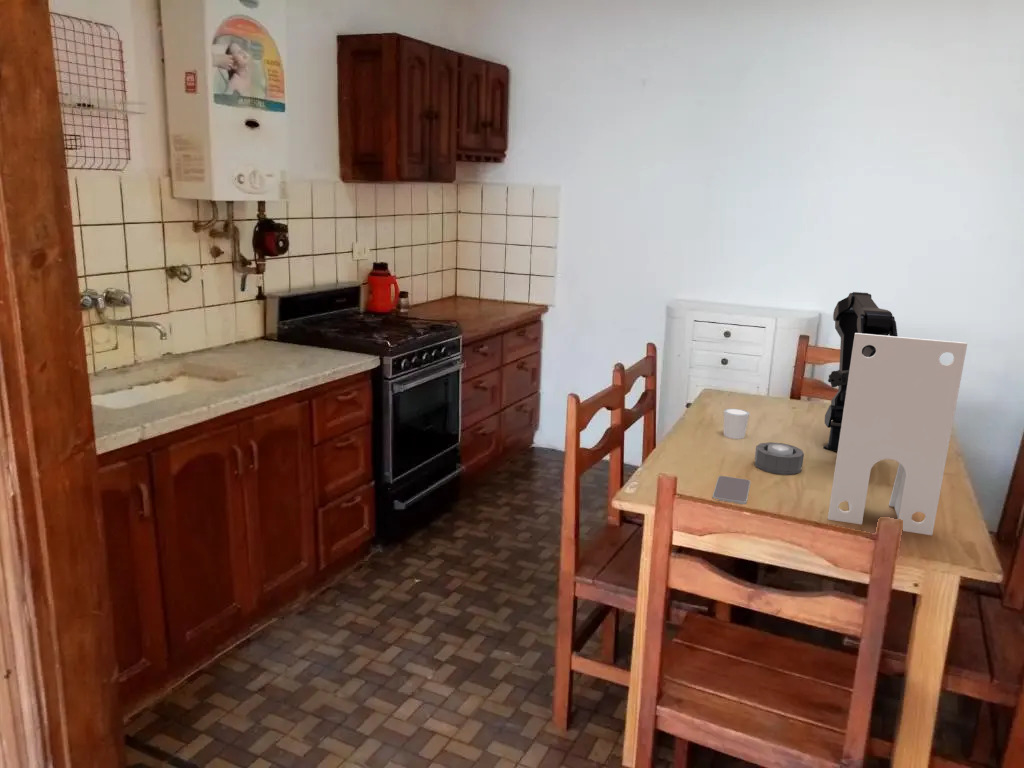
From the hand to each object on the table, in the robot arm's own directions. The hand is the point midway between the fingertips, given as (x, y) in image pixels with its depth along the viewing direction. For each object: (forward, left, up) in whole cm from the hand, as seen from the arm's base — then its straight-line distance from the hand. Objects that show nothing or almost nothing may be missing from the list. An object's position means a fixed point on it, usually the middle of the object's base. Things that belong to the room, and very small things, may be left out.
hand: (860, 424), depth 197 cm
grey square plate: (+34, -17, -13) cm, 40 cm away
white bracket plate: (+25, +12, -12) cm, 30 cm away
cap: (+11, -15, -11) cm, 21 cm away
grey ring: (+11, -15, -12) cm, 22 cm away
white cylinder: (-5, -34, -12) cm, 36 cm away
